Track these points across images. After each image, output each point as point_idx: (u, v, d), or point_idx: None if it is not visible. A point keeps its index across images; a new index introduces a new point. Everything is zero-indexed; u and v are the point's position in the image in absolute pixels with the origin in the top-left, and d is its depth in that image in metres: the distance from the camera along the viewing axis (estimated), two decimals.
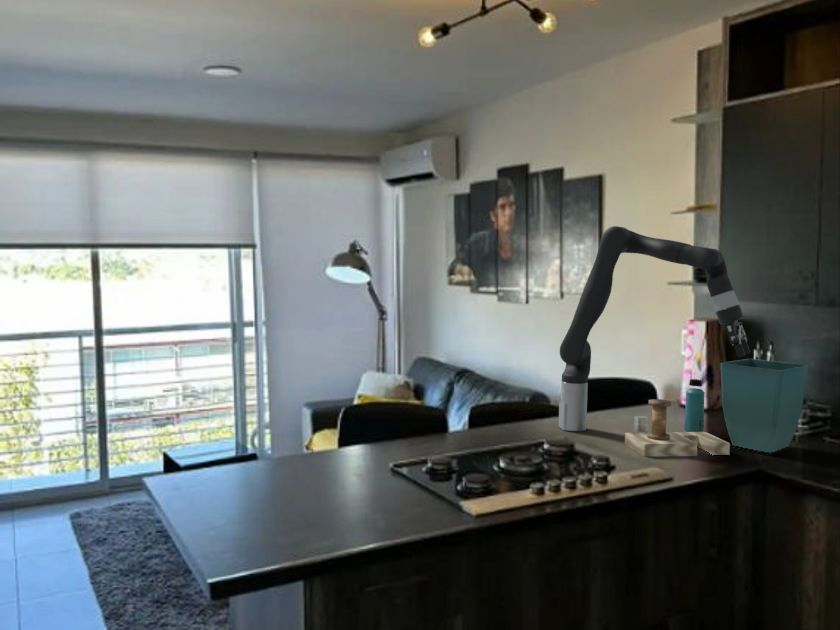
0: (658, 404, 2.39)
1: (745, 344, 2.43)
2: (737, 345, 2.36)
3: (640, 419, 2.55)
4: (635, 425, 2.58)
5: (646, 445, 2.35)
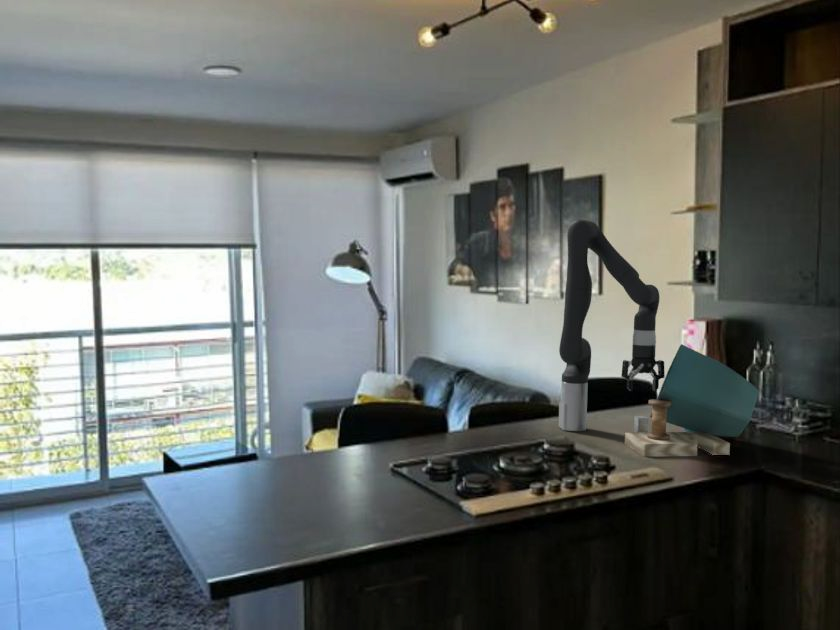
0: (658, 404, 2.39)
1: (654, 381, 2.56)
2: (627, 380, 2.55)
3: (640, 419, 2.55)
4: (635, 425, 2.58)
5: (646, 445, 2.35)
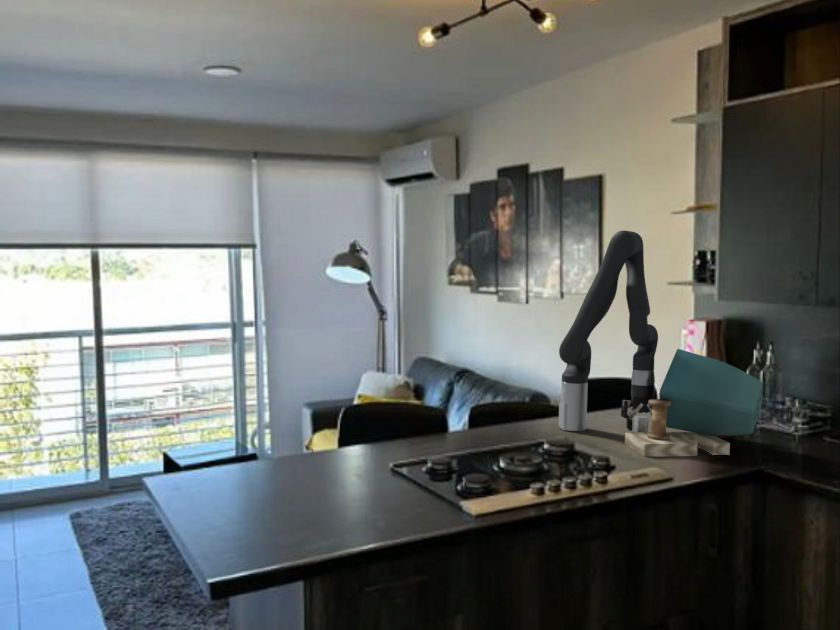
0: (658, 404, 2.39)
1: None
2: (627, 419, 2.56)
3: (640, 419, 2.55)
4: (635, 425, 2.58)
5: (646, 445, 2.35)
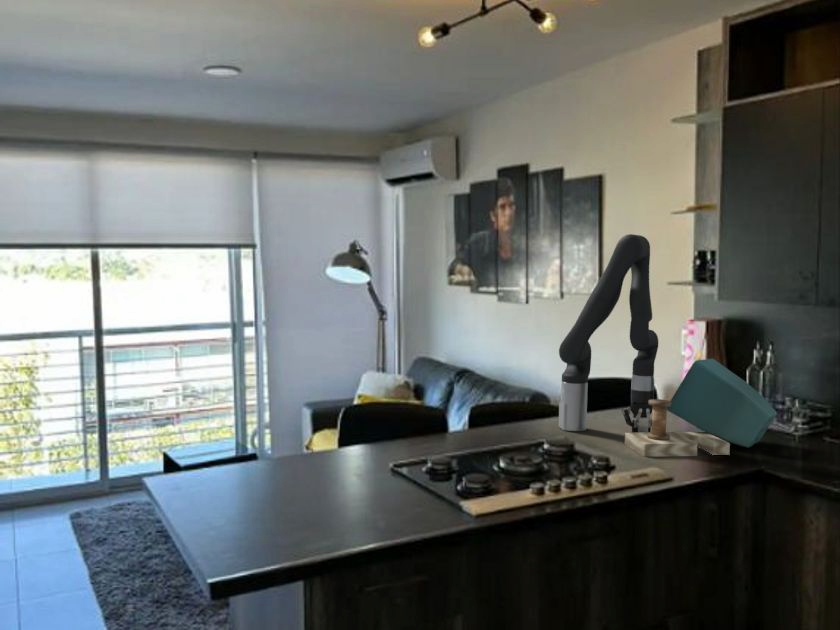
0: (658, 404, 2.39)
1: None
2: (632, 427, 2.57)
3: (640, 419, 2.55)
4: None
5: (646, 445, 2.35)
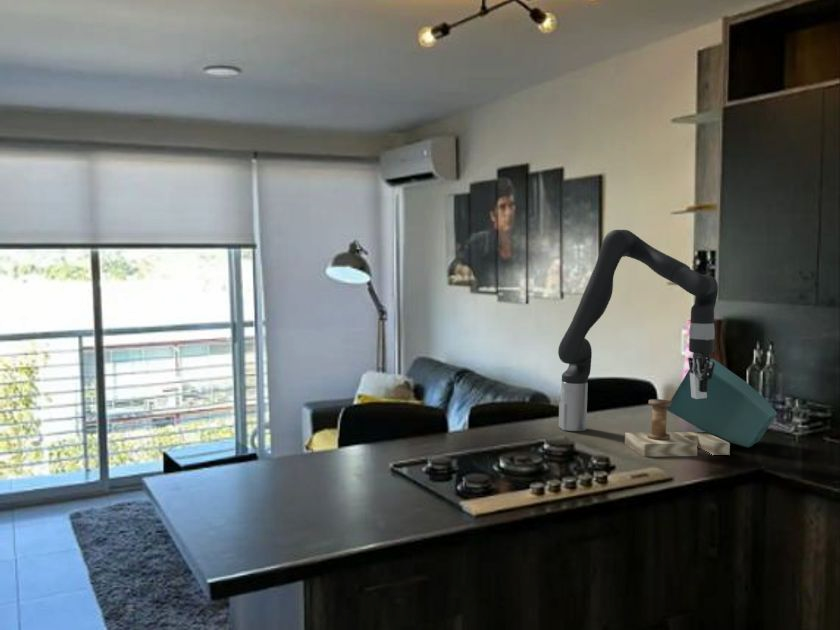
0: (658, 404, 2.39)
1: None
2: (705, 380, 2.37)
3: None
4: (698, 383, 2.39)
5: (646, 445, 2.35)
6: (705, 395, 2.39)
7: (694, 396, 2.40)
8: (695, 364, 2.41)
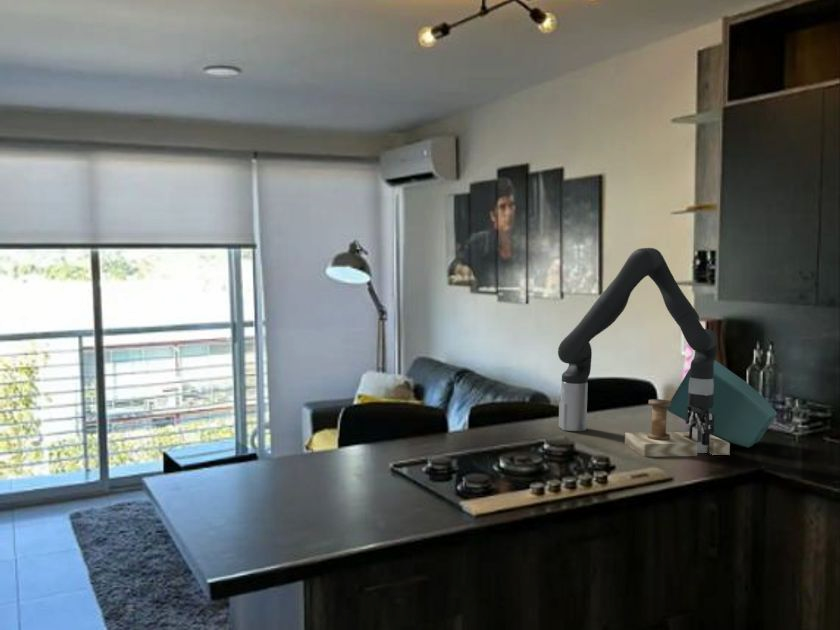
0: (658, 404, 2.39)
1: None
2: (708, 434, 2.36)
3: None
4: (700, 438, 2.39)
5: (646, 445, 2.35)
6: (705, 451, 2.40)
7: None
8: (693, 417, 2.42)
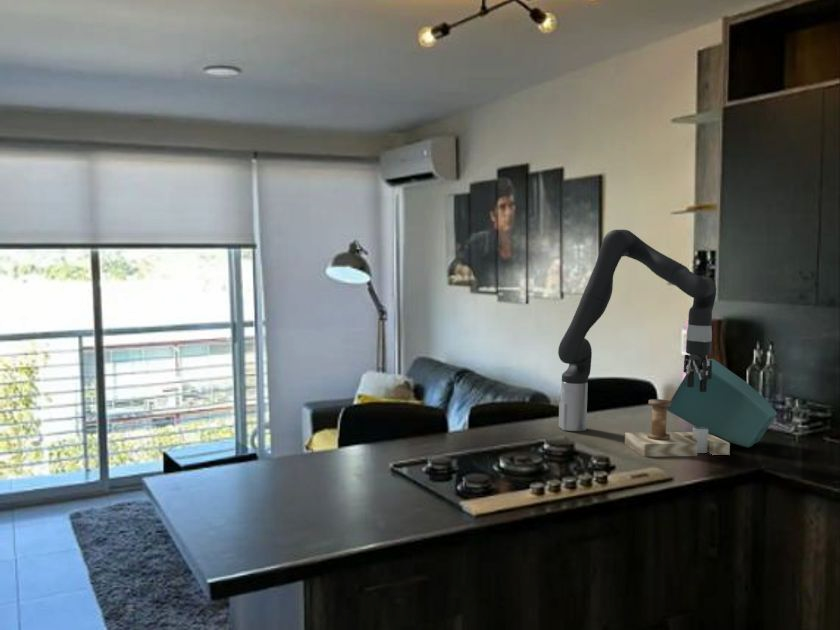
0: (658, 404, 2.39)
1: (693, 377, 2.46)
2: (705, 380, 2.36)
3: None
4: (700, 438, 2.39)
5: (646, 445, 2.35)
6: (705, 451, 2.40)
7: None
8: (690, 365, 2.43)
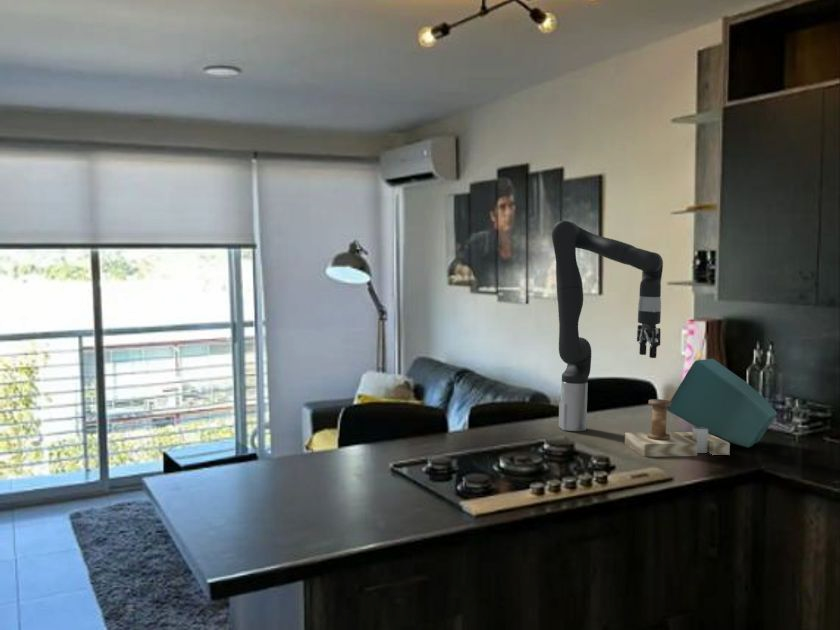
0: (658, 404, 2.39)
1: (645, 346, 2.66)
2: (655, 347, 2.56)
3: None
4: (700, 438, 2.39)
5: (646, 445, 2.35)
6: (705, 451, 2.40)
7: None
8: (642, 334, 2.63)
